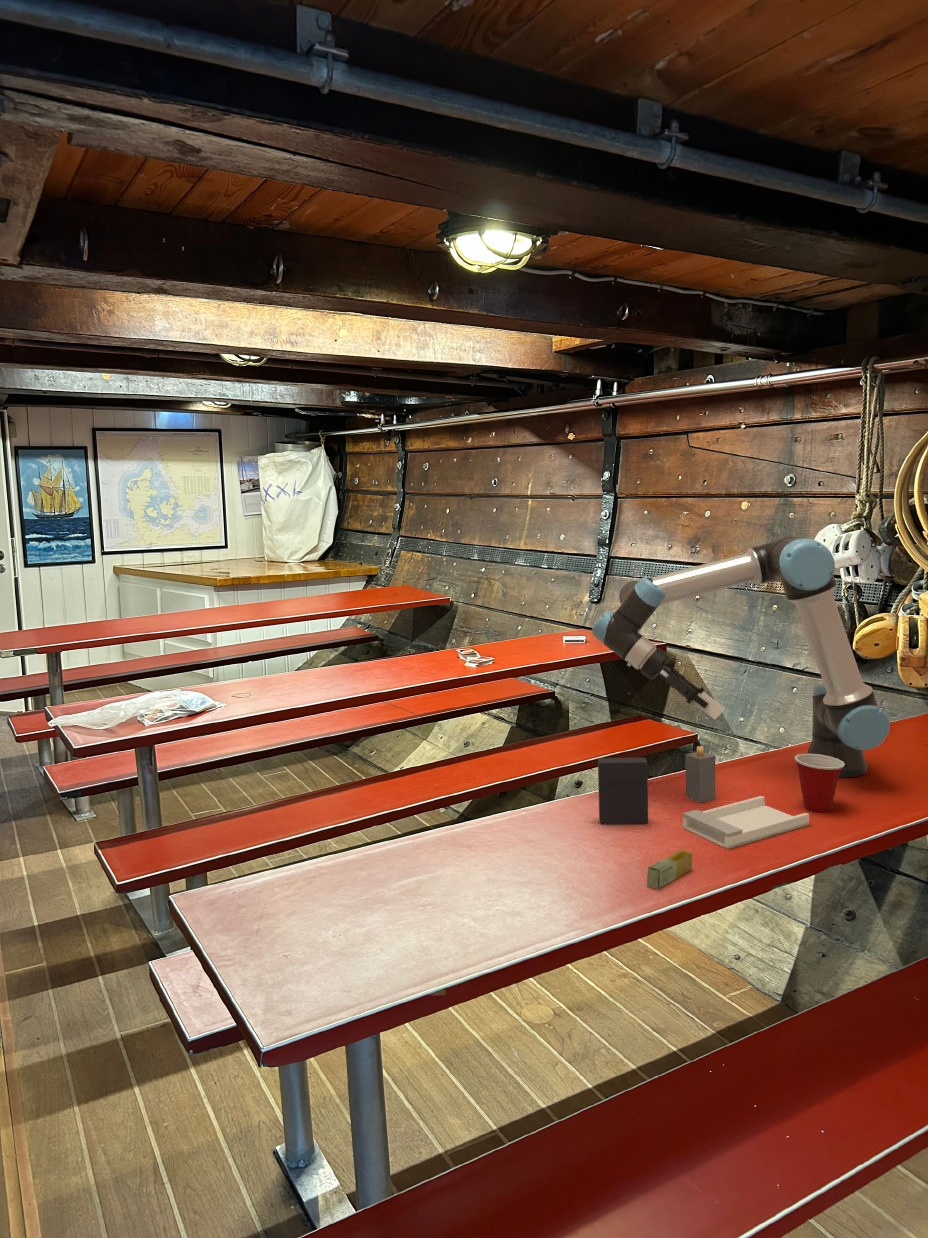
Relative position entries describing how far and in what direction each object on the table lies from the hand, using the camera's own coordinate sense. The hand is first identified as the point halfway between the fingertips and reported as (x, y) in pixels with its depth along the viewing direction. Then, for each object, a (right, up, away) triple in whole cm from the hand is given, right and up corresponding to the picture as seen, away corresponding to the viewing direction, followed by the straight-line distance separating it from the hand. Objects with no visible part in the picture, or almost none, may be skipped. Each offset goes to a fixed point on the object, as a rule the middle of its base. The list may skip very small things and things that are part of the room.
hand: (720, 713), depth 203 cm
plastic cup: (+22, -22, -2) cm, 32 cm away
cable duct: (+2, -24, -11) cm, 27 cm away
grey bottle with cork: (-3, -22, +7) cm, 23 cm away
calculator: (-24, -25, -5) cm, 35 cm away
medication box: (-20, -29, -34) cm, 49 cm away
